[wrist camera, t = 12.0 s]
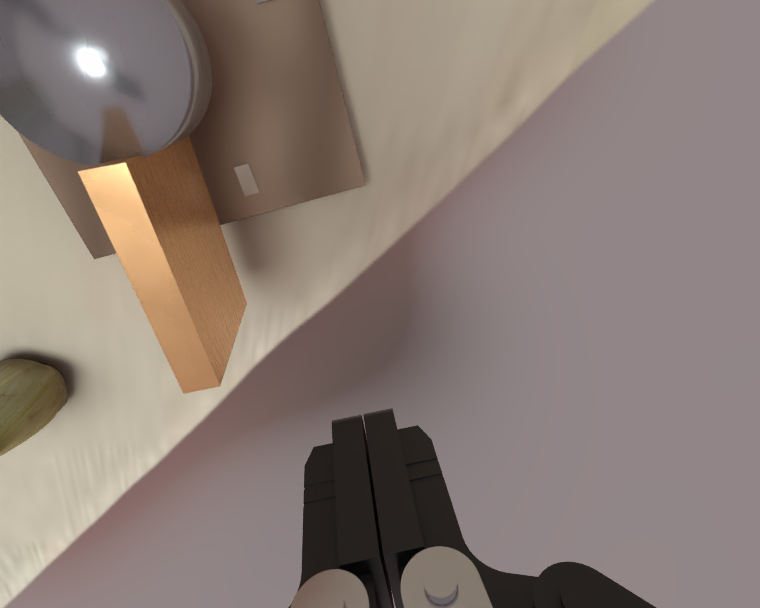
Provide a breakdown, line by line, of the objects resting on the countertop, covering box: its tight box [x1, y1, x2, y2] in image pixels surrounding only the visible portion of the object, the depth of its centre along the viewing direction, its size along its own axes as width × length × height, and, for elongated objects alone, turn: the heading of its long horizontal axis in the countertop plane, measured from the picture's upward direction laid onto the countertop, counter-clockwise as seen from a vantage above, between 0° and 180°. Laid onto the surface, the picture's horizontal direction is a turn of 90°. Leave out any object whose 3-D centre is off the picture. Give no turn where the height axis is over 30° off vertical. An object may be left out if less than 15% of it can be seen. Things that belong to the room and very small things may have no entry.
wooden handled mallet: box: [0, 0, 247, 393], centre depth 18 cm, size 15×6×8 cm, turn 10°
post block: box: [18, 0, 365, 259], centre depth 20 cm, size 16×16×6 cm
